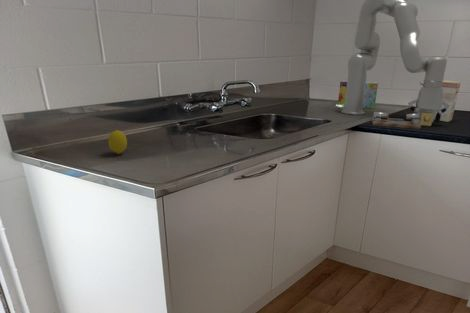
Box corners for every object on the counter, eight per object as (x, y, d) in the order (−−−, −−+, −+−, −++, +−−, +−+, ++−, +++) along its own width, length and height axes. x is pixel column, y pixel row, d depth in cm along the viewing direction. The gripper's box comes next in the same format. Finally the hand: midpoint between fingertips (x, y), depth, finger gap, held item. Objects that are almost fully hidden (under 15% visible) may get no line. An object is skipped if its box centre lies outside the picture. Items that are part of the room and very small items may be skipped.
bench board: (373, 125, 159) (373, 122, 158) (371, 120, 168) (371, 118, 167) (420, 128, 154) (420, 126, 153) (415, 124, 163) (416, 121, 162)
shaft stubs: (373, 123, 159) (375, 111, 158) (371, 120, 167) (373, 108, 165) (420, 127, 154) (423, 114, 153) (416, 123, 162) (419, 111, 160)
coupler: (431, 126, 159) (434, 113, 157) (419, 125, 160) (422, 113, 159) (428, 123, 165) (430, 111, 163) (416, 122, 166) (419, 110, 164)
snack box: (374, 107, 205) (378, 82, 201) (374, 109, 201) (378, 83, 196) (338, 104, 213) (341, 79, 209) (337, 105, 209) (340, 80, 204)
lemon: (120, 150, 112) (118, 126, 109) (131, 153, 109) (129, 129, 106) (105, 154, 108) (103, 130, 105) (117, 158, 105) (114, 132, 102)
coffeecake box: (452, 120, 173) (461, 81, 167) (448, 122, 168) (458, 82, 162) (420, 115, 183) (428, 78, 177) (416, 117, 178) (424, 79, 172)
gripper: (413, 84, 155) (407, 121, 161) (456, 86, 151) (448, 124, 156) (410, 83, 162) (404, 118, 168) (450, 85, 158) (443, 121, 163)
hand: (425, 121), depth 162 cm, fingers open, 9 cm apart
